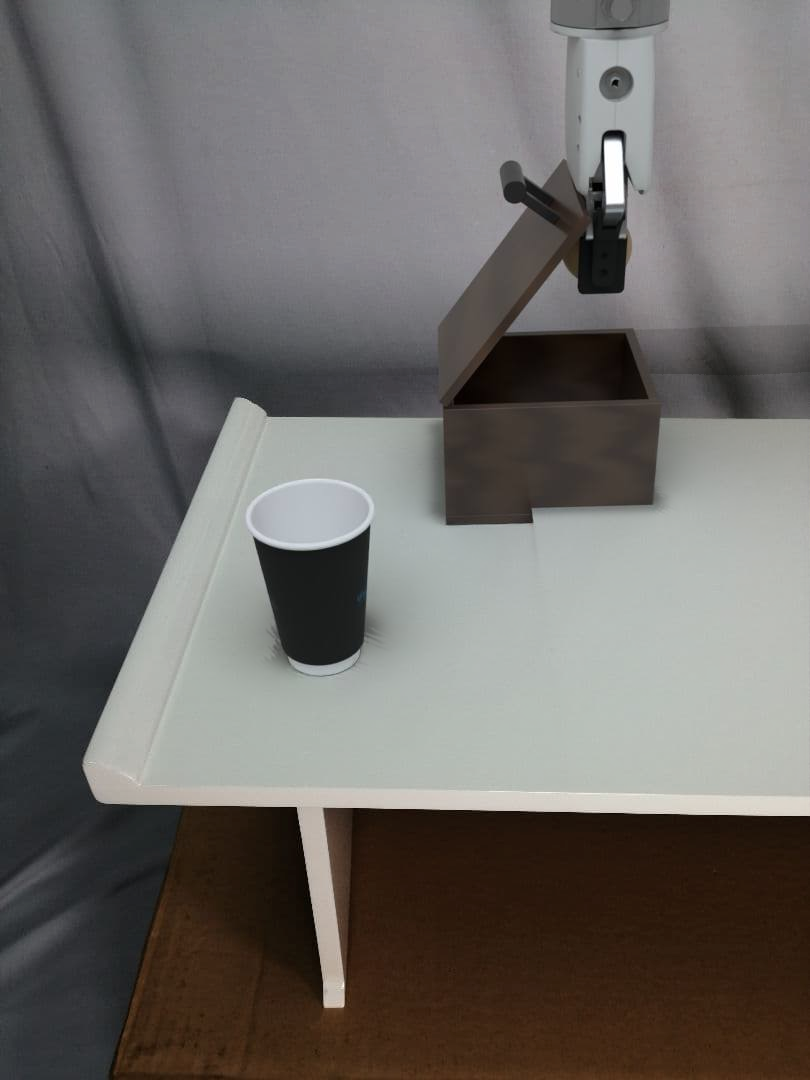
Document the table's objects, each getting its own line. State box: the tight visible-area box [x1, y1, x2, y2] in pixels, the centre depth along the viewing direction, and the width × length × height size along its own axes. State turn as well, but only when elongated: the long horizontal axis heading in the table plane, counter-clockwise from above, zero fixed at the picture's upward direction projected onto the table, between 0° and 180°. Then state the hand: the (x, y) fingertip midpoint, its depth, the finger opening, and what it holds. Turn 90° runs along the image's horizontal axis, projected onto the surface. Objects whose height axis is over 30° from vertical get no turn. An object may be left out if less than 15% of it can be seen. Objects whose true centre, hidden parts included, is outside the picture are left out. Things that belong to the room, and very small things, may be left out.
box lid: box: [437, 158, 592, 407], centre depth 85 cm, size 16×14×5 cm
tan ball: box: [562, 211, 633, 279], centre depth 83 cm, size 5×5×5 cm
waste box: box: [442, 327, 662, 526], centre depth 92 cm, size 16×14×10 cm
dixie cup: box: [244, 477, 376, 677], centre depth 74 cm, size 8×8×11 cm
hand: (595, 275), depth 85 cm, fingers closed on tan ball, 4 cm apart
